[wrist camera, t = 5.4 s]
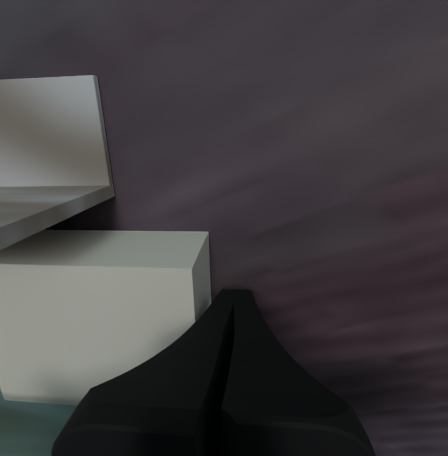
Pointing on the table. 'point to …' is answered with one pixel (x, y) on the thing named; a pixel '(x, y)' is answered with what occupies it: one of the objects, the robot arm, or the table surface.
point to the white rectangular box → (94, 306)
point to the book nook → (47, 201)
